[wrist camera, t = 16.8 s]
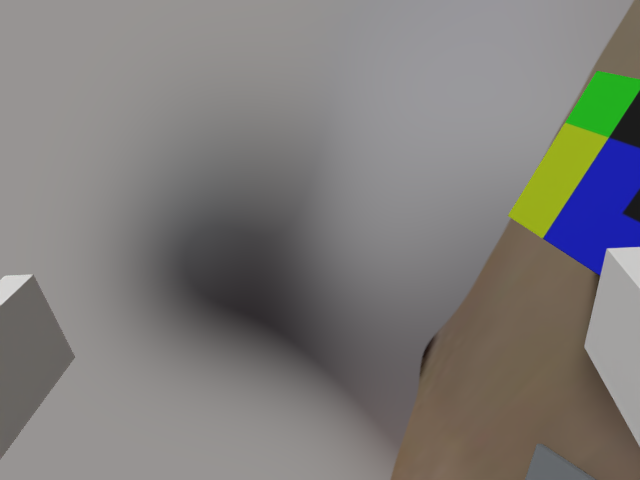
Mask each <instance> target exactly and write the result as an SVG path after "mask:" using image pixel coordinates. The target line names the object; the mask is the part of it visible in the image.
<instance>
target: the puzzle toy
mask: <svg viewBox="0 0 640 480" xmlns="http://www.w3.org/2000/svg"><path fill="white" fill-rule="evenodd" d="M508 216H509V217H511V218H512V219H514V220H515V221H517V222H518V223H520V224H521V225H523V226H524V227H526V228H527V229H529V230H531V231H532V232H534V233H535V234H537V235H538V236H540V237H541V238H543V239H544V240H546V241H547V242H549V243H550V244H552V245H554V246H555V247H557V248H558V249H560V250H561V251H563V252H564V253H566V254H567V255H569V256H570V257H572V258H574V259H575V260H577V261H578V262H580V263H581V264H583V265H584V266H586V267H587V268H589V269H590V270H592V271H593V272H595V273H597V274H598V275H600V276H601V271H602V267H603V262H604V258H605V254H606V249H607V248H628V247H640V79H635V78H630V77H625V76H620V75H615V74H610V73H605V72H600V71H597V72H596V74H595V75H594V77H593V78H592V80H591V82H590V83H589V85H588V87H587V88H586V90H585V91H584V93H583V95H582V96H581V98H580V100H579V101H578V103H577V104H576V106H575V108H574V109H573V111H572V113H571V114H570V116H569V117H568V119H567V121H566V122H565V124H564V126H563V127H562V129H561V130H560V132H559V134H558V135H557V137H556V139H555V140H554V142H553V143H552V145H551V147H550V148H549V150H548V152H547V153H546V155H545V156H544V158H543V160H542V161H541V163H540V165H539V166H538V168H537V169H536V171H535V173H534V174H533V176H532V178H531V179H530V181H529V182H528V184H527V186H526V187H525V189H524V191H523V192H522V194H521V195H520V197H519V199H518V200H517V202H516V204H515V205H514V207H513V208H512V210H511V212H510V213H509V215H508Z"/></svg>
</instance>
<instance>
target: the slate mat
mask: <svg viewBox="0 0 640 480" xmlns="http://www.w3.org/2000/svg"><path fill="white" fill-rule="evenodd" d="M525 480H596V479H594V478H593V477H591V476H590V475H588V474H587V473H585V472H584V471H582V470H581V469H579V468H578V467H576V466H575V465H573V464H572V463H570V462H569V461H567V460H566V459H564V458H563V457H561V456H560V455H558V454H556V453H555V452H553V451H552V450H550V449H549V448H547V447H546V446H544V445H543V444H537V446H536V449H535V452H534V455H533V458H532V461H531V464H530V467H529V470H528V473H527V476H526V479H525Z"/></svg>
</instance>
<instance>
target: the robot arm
mask: <svg viewBox="0 0 640 480" xmlns="http://www.w3.org/2000/svg"><path fill="white" fill-rule="evenodd" d="M584 347H585V349H586V351H587V353H588V355H589V356H590V358H591V360H592V362H593V364H594V365H595V367H596V369H597V371H598V373H599V374H600V376H601V378H602V380H603V382H604V383H605V385H606V387H607V389H608V391H609V392H610V394H611V396H612V398H613V400H614V401H615V403H616V405H617V407H618V409H619V410H620V412H621V414H622V416H623V418H624V419H625V421H626V423H627V425H628V427H629V428H630V430H631V432H632V434H633V436H634V437H635V439H636V441H637V443H638V445H639V446H640V247H628V248H607V249H606V254H605V258H604V262H603V267H602V271H601V276H600V280H599V284H598V289H597V293H596V297H595V302H594V306H593V311H592V315H591V319H590V324H589V328H588V332H587V337H586V341H585V346H584ZM74 358H75V356H74V354H73V352H72V350H71V348H70V346H69V344H68V342H67V340H66V339H65V336H64V334H63V332H62V330H61V328H60V326H59V324H58V322H57V320H56V318H55V316H54V314H53V312H52V311H51V308H50V307H49V304H48V302H47V300H46V298H45V297H44V295H43V293H42V291H41V289H40V287H39V285H38V283H37V281H36V279H35V277H34V275H14V276H13V275H12V276H5V277H3V278H2V279H1V280H0V459H1V458H2V456H3V455H4V454H5V452H6V451H7V450H8V448H9V447H10V445H11V444H12V443H13V441H14V440H15V439H16V437H17V436H18V435H19V433H20V432H21V430H22V429H23V428H24V426H25V425H26V423H27V422H28V421H29V420H30V418H31V417H32V415H33V414H34V413H35V411H36V410H37V409H38V407H39V406H40V404H41V403H42V402H43V400H44V399H45V398H46V396H47V395H48V394H49V392H50V391H51V389H52V388H53V387H54V385H55V384H56V383H57V381H58V380H59V379H60V377H61V376H62V374H63V373H64V372H65V370H66V369H67V368H68V366H69V365H70V363H71V362H72V360H73V359H74Z"/></svg>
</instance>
